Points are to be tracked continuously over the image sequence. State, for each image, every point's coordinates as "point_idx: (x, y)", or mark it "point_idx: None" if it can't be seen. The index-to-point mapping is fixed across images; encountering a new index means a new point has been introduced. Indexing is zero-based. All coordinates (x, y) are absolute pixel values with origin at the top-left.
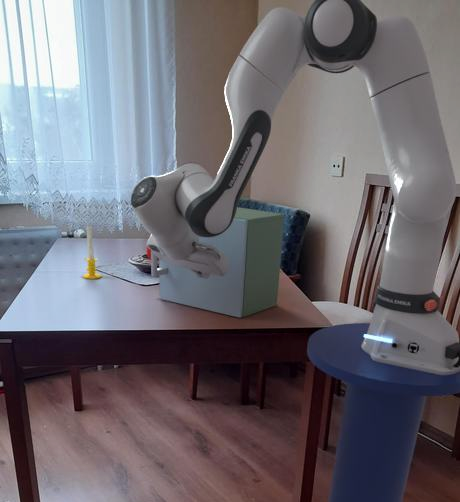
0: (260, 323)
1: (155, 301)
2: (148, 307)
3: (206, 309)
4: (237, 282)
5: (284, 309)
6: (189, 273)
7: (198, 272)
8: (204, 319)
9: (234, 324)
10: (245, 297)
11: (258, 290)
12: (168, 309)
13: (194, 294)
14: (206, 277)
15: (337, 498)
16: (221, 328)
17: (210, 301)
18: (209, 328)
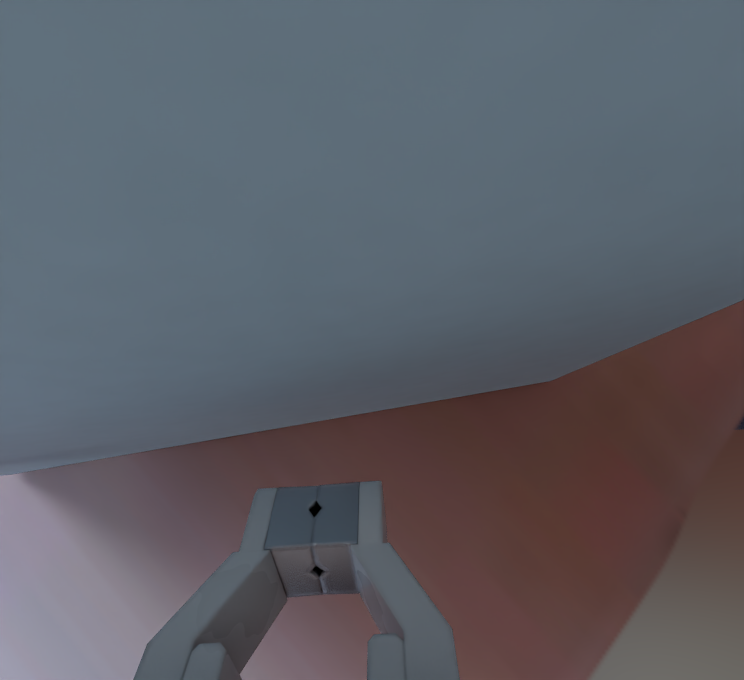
0: (678, 358)
1: (19, 521)
2: (63, 647)
3: (332, 418)
4: (610, 344)
5: None
6: (89, 437)
7: (288, 584)
8: (441, 553)
9: (611, 485)
10: None
11: None
12: (172, 578)
13: (222, 431)
14: (387, 541)
15: (740, 422)
16: (624, 605)
17: (351, 410)
18: (583, 665)
